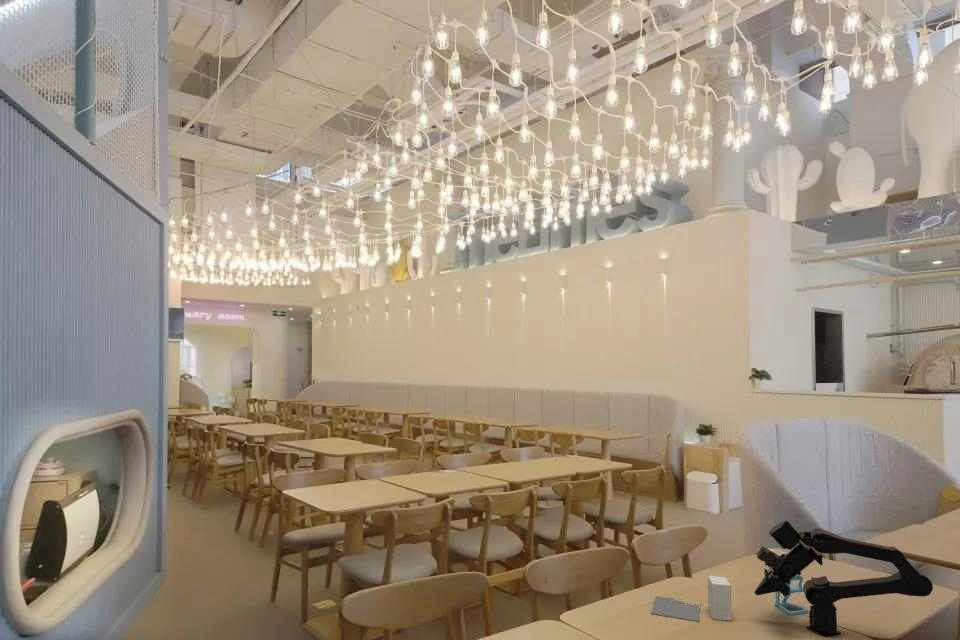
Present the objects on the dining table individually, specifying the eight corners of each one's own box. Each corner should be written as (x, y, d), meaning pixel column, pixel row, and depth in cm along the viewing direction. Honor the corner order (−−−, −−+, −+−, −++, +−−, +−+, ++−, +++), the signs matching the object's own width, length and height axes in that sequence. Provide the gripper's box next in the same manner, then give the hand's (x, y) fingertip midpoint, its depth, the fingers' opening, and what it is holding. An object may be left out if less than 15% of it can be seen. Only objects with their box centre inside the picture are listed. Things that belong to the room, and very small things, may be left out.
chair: (788, 603, 202) (787, 565, 203) (808, 613, 195) (808, 573, 195) (769, 605, 200) (768, 567, 201) (789, 615, 192) (789, 575, 193)
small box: (731, 621, 187) (731, 585, 187) (712, 619, 188) (711, 583, 189) (726, 611, 194) (726, 576, 195) (707, 609, 196) (707, 575, 196)
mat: (700, 603, 200) (700, 602, 201) (699, 621, 186) (699, 620, 186) (655, 596, 206) (655, 595, 206) (651, 614, 191) (651, 613, 191)
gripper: (771, 532, 196) (734, 563, 199) (776, 547, 179) (735, 581, 182) (799, 560, 193) (761, 592, 196) (808, 579, 175) (765, 613, 178)
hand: (755, 593), depth 188 cm, fingers closed
